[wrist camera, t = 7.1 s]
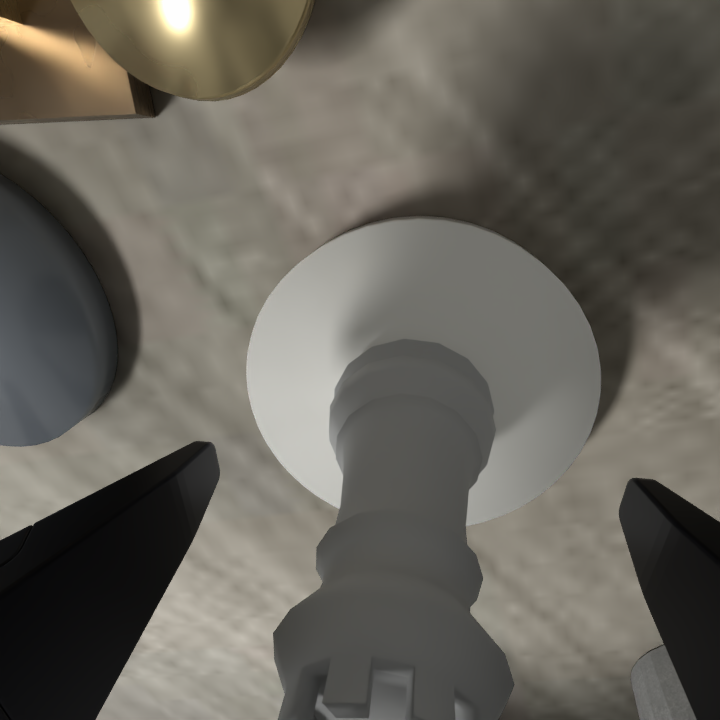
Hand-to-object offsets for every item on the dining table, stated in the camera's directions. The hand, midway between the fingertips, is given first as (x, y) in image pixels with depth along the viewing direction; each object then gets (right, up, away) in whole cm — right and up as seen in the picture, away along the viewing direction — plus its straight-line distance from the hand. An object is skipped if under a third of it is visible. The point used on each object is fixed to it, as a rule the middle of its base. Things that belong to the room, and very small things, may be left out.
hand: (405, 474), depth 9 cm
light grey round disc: (+1, +2, +4) cm, 4 cm away
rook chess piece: (0, +1, +3) cm, 3 cm away
